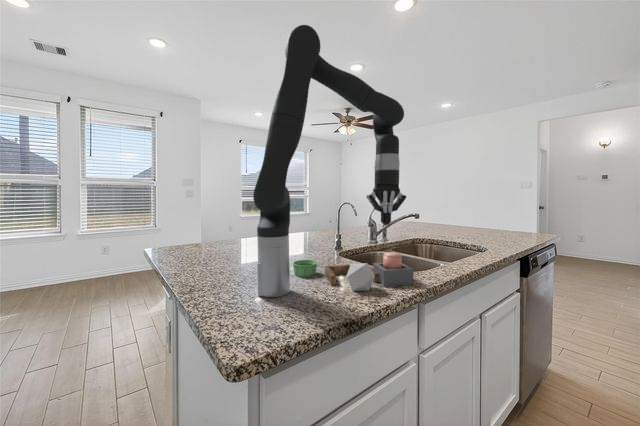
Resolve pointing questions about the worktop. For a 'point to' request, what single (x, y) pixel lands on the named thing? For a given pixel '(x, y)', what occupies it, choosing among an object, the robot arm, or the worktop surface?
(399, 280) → the box
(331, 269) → the walnut bay
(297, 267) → the ramekin
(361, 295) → the worktop surface
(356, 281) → the die
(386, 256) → the popper button
